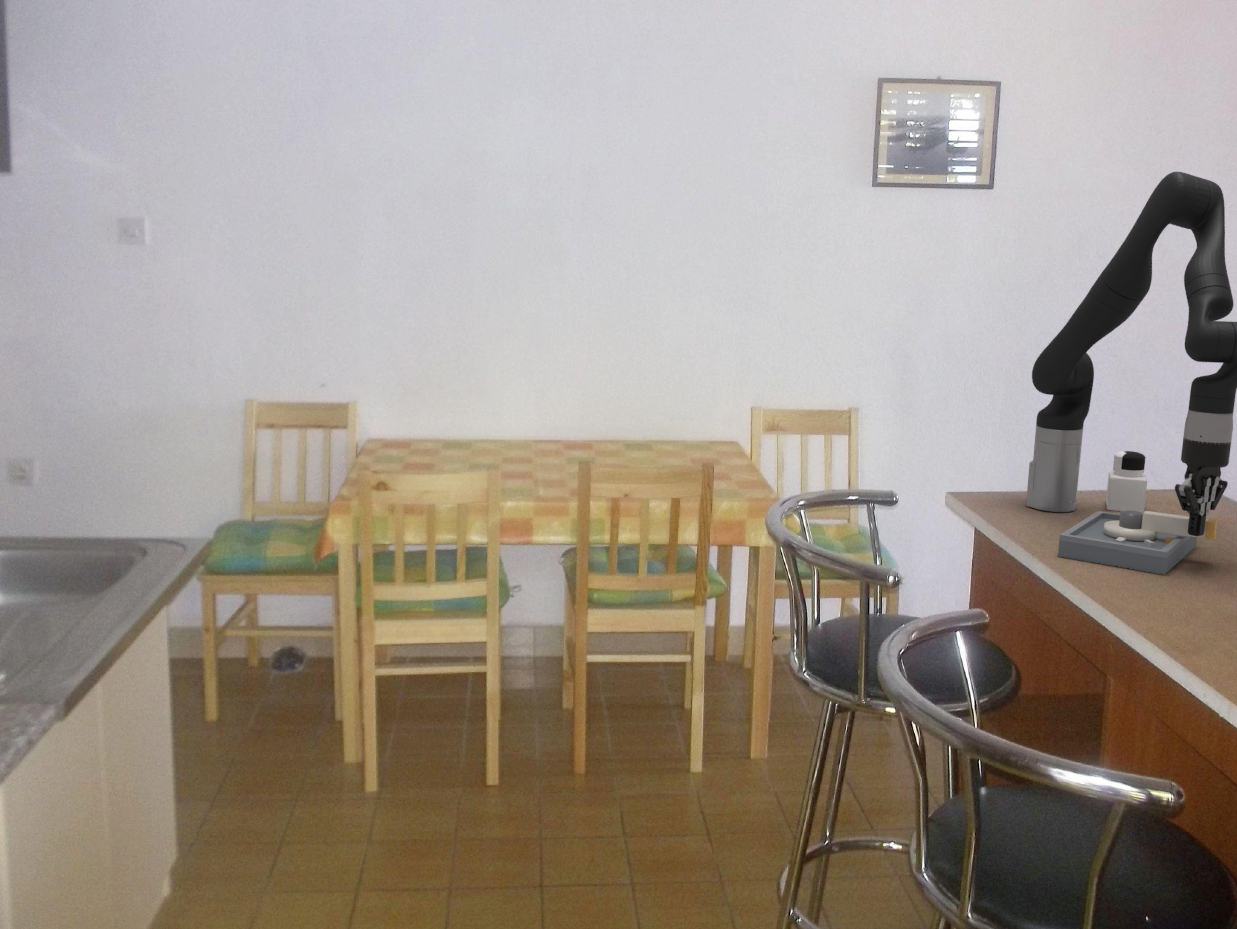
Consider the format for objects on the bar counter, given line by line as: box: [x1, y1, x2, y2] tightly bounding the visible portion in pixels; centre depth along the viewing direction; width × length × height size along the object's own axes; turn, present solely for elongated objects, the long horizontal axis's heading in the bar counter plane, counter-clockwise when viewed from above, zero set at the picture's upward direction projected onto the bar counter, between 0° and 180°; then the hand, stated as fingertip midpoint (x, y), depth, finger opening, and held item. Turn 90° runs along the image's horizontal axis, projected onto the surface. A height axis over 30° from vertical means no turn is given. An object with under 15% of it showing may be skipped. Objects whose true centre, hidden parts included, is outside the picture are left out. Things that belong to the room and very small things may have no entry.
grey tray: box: [1057, 510, 1198, 576], centre depth 224 cm, size 18×24×4 cm
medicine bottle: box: [1105, 450, 1148, 513], centre depth 257 cm, size 7×7×12 cm
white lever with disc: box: [1104, 510, 1218, 541], centre depth 221 cm, size 18×9×5 cm, turn 58°
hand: (1195, 534), depth 215 cm, fingers closed
